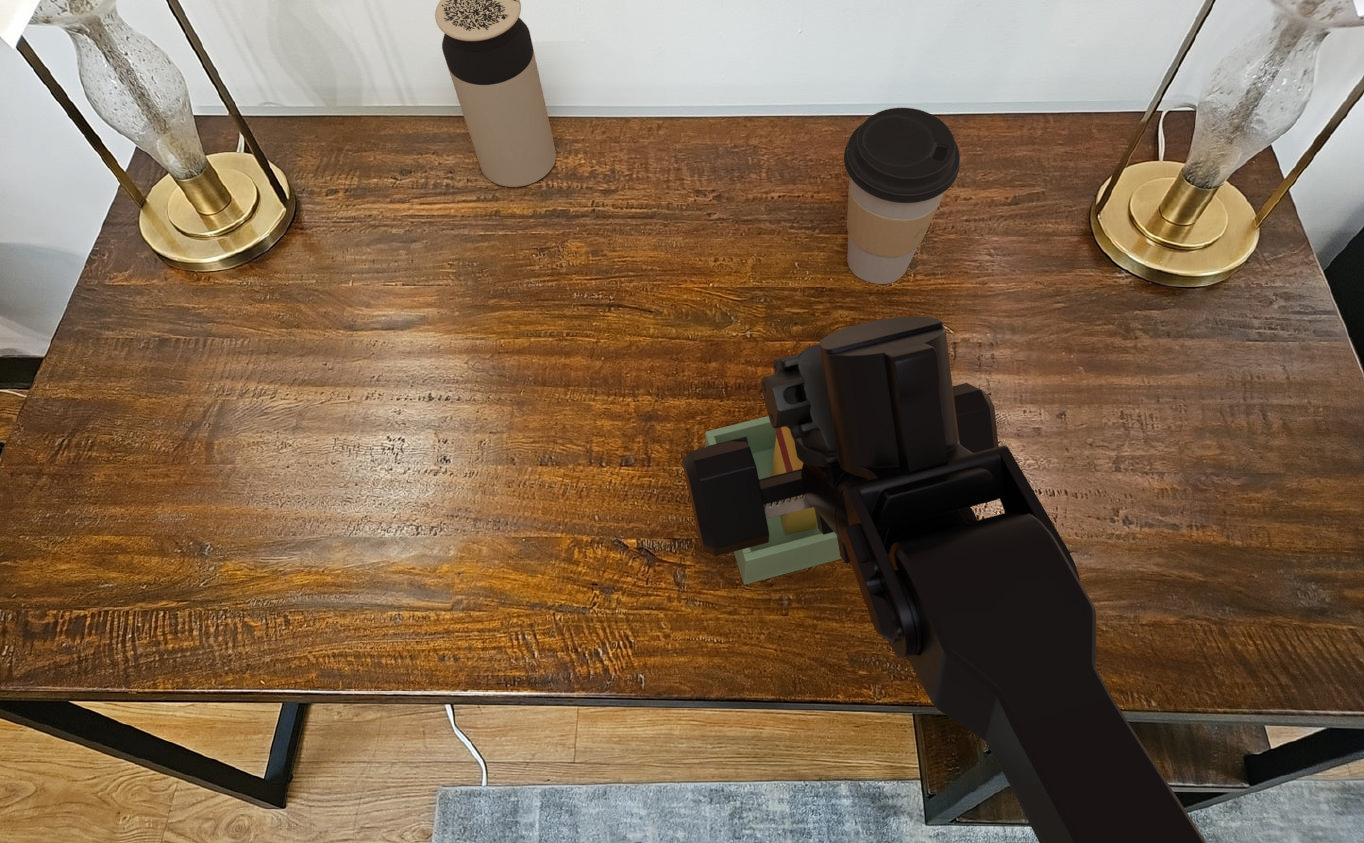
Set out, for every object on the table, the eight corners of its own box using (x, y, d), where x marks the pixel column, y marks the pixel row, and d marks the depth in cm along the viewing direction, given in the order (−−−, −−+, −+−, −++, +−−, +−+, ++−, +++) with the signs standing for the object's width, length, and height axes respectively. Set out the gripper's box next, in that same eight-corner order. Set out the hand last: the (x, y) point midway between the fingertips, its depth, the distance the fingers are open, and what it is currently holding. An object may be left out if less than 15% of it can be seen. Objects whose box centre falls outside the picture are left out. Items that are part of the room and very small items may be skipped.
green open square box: (877, 549, 71) (889, 522, 66) (743, 585, 70) (745, 561, 65) (831, 430, 76) (838, 397, 71) (705, 462, 75) (704, 431, 70)
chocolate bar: (800, 473, 74) (817, 387, 62) (815, 529, 71) (836, 452, 59) (769, 479, 74) (780, 394, 61) (784, 535, 71) (798, 459, 59)
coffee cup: (934, 296, 83) (976, 181, 69) (833, 302, 83) (855, 188, 70) (917, 219, 87) (953, 97, 74) (821, 224, 87) (839, 103, 74)
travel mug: (518, 201, 90) (476, 51, 74) (464, 165, 93) (412, 14, 77) (572, 155, 93) (542, 2, 77) (518, 122, 95) (478, -33, 80)
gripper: (1040, 321, 45) (916, 287, 60) (684, 408, 43) (648, 350, 58) (1058, 520, 48) (936, 440, 63) (727, 608, 47) (682, 505, 61)
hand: (803, 431), depth 61 cm, fingers open, 9 cm apart
